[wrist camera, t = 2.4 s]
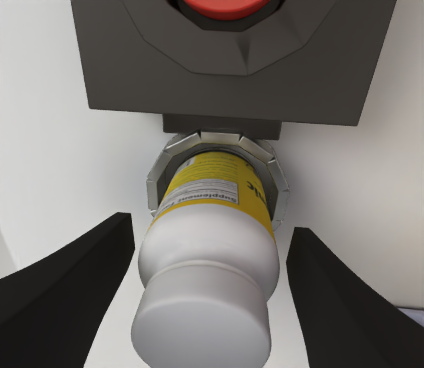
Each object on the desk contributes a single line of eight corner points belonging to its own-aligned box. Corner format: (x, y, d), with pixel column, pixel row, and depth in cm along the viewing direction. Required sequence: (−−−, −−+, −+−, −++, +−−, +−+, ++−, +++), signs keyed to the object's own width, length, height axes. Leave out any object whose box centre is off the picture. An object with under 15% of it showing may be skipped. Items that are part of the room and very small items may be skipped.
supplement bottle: (261, 221, 17) (290, 404, 8) (180, 222, 17) (125, 393, 9) (263, 142, 14) (308, 281, 6) (168, 146, 15) (75, 278, 6)
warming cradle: (271, 240, 17) (275, 259, 16) (158, 230, 18) (151, 248, 16) (298, 105, 13) (306, 112, 12) (150, 96, 14) (139, 102, 12)
